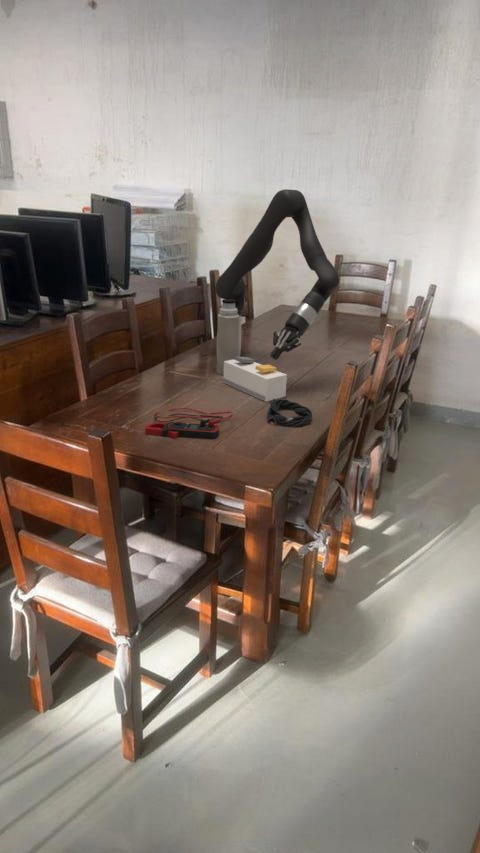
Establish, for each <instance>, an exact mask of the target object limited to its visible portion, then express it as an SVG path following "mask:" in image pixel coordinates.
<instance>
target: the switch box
mask: <svg viewBox="0 0 480 853" xmlns="http://www.w3.org/2000/svg"><path fill="white" fill-rule="evenodd" d="M259 365H262V364H261V363H259V362H256V361H254V363H248V364H245V363H243V362H239V361H236V360H234V359H233V360H228V361H224V375H223V380H222V381H223V383H224V384H226V385H229V387H230V386H231V387H232V388H235V389H237V390H240V391H241V392H244V393H246V394H249V395H250V396H252V397H254V398H257V399H260V400H261V401H264V402H269V401H270V402H271V401H273V399H275V400H279V399H283V398H285V397H286V395H287V394H286V393H287V380H288V379H287V377H288V374H286V373H283V372H281V371H280V370H279V371H278V370H276V371H270V373H268V372H261V371H258V370H256V369H255V368H256V366H259Z"/></svg>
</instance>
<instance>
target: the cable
mask: <svg viewBox="0 0 480 853" xmlns="http://www.w3.org/2000/svg"><path fill="white" fill-rule="evenodd" d="M269 405H270V407H269V408H268V410H267V414H266V418H267V421H272V422H273V423H275V424H276V423H279V424H281V425H283V426H285V427H289V428H297V427H300V426H303V427H304V426H306V425H308V424H309V423H311V420H312V417H313V413H312V411H311V409H310V408H308V407H307V406H304V405H301V404H300V403H298V402H295V401H290V400H289V399H286V398H284V399H283V398H278V399H273V400H272V402H271V401H270V402H269ZM278 408H279V409H285V410H287V409H288V410H293V411H294V412H295V413H300V414H301V413H302V415H297V416H292V417H291V418H287V417H286V416H285V415H282V414H281V413H280V412H279V411H278Z"/></svg>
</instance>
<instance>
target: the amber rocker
mask: <svg viewBox="0 0 480 853" xmlns="http://www.w3.org/2000/svg"><path fill="white" fill-rule="evenodd" d="M255 369H256V370H258V371H261V372H268V373H270V371H277V367H276V366H274V365H271V364H261V365H259V366H256V368H255Z"/></svg>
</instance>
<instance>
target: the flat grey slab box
mask: <svg viewBox="0 0 480 853" xmlns="http://www.w3.org/2000/svg"><path fill="white" fill-rule="evenodd" d="M234 360H236V361H239V362H243V363H245V364H248V363H254V362H255V359H253V358H251V357H248V356H239V357H237V356H235V358H234Z"/></svg>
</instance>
